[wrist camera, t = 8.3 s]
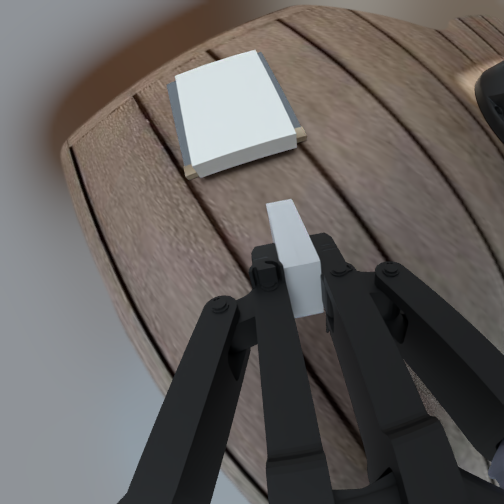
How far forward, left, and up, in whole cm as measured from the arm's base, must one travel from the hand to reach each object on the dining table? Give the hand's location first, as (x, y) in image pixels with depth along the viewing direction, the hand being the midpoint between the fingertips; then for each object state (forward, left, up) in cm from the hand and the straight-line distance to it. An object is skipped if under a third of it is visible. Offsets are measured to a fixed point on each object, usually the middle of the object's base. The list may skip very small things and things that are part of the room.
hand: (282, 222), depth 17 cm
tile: (-6, -7, -8) cm, 12 cm away
